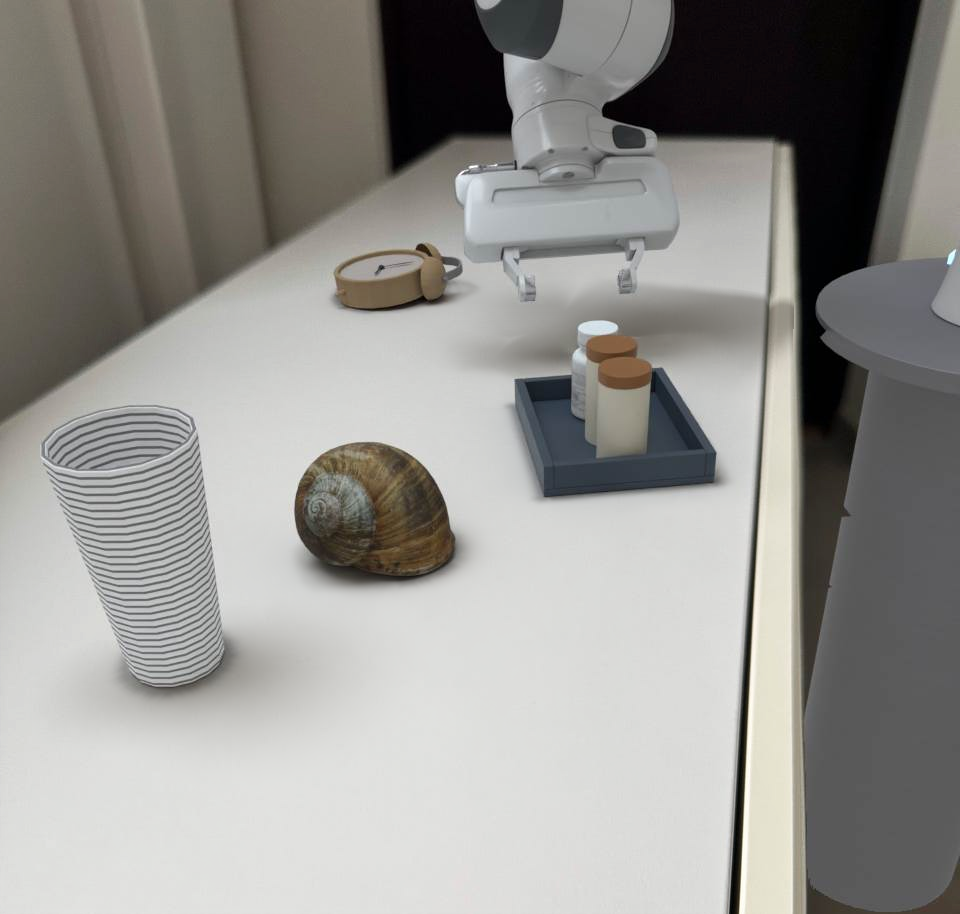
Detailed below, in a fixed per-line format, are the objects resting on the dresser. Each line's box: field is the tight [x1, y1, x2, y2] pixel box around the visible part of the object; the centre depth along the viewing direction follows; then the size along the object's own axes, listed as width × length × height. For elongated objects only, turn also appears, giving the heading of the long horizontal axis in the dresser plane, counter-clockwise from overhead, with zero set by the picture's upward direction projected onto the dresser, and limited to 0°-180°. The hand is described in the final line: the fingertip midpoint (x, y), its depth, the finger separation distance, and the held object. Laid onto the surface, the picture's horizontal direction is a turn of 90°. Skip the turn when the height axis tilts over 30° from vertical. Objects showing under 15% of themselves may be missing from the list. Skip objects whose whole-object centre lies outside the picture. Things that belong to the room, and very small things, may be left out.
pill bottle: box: [571, 319, 619, 420], centre depth 91 cm, size 4×4×8 cm
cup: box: [39, 404, 226, 688], centre depth 63 cm, size 8×8×16 cm
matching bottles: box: [585, 334, 653, 458], centre depth 85 cm, size 4×9×8 cm, turn 6°
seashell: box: [293, 441, 456, 577], centre depth 74 cm, size 11×9×8 cm
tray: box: [514, 366, 718, 497], centre depth 89 cm, size 14×18×3 cm
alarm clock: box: [332, 242, 464, 309], centre depth 123 cm, size 11×5×15 cm
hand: (578, 295), depth 98 cm, fingers open, 8 cm apart
